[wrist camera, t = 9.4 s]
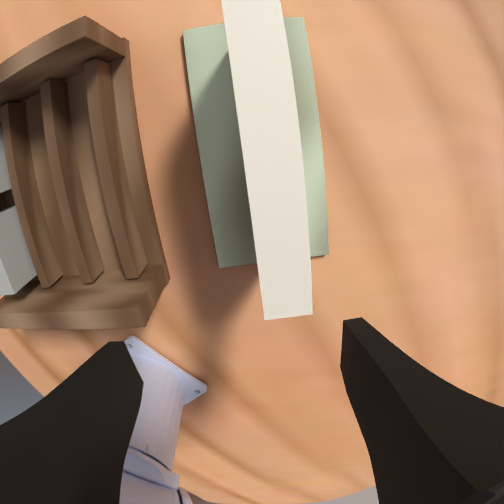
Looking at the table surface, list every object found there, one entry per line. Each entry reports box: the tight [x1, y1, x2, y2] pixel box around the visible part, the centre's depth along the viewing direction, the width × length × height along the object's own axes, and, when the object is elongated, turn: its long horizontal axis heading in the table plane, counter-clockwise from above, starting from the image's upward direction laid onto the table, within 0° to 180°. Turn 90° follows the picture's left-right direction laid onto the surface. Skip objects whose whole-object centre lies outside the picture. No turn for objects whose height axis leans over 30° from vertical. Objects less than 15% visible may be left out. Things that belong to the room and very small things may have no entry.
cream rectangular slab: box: [221, 0, 313, 320], centre depth 12 cm, size 2×12×8 cm, turn 7°
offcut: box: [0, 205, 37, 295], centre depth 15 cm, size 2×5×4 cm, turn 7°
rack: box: [0, 16, 329, 329], centre depth 14 cm, size 24×16×6 cm, turn 97°
